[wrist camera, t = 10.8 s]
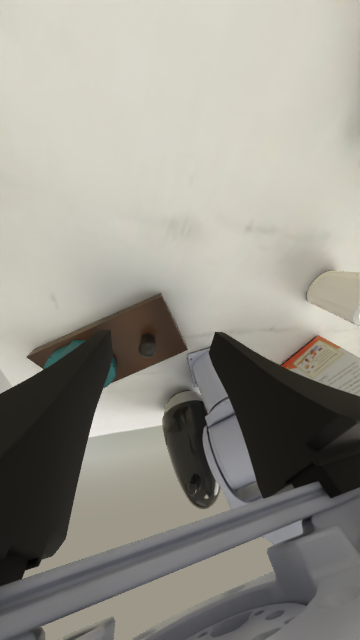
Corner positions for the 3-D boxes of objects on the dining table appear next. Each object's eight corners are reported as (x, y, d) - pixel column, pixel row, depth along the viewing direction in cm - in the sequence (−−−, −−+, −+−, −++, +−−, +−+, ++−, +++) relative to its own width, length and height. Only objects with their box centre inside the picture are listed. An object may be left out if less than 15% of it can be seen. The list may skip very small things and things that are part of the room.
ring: (117, 383, 23) (110, 419, 19) (58, 387, 21) (32, 429, 16) (114, 340, 19) (103, 372, 14) (39, 339, 17) (-2, 377, 12)
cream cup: (347, 280, 24) (413, 293, 18) (314, 312, 26) (362, 333, 20) (331, 257, 21) (404, 264, 15) (296, 295, 23) (346, 314, 17)
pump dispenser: (195, 376, 29) (235, 488, 16) (210, 399, 34) (248, 497, 21) (151, 396, 29) (154, 523, 16) (172, 416, 34) (187, 522, 21)
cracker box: (278, 382, 36) (403, 518, 18) (266, 375, 34) (400, 527, 16) (326, 344, 32) (547, 472, 14) (318, 334, 30) (574, 474, 12)
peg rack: (161, 292, 19) (167, 318, 13) (185, 344, 24) (198, 379, 18) (33, 349, 19) (-21, 401, 13) (85, 387, 24) (64, 437, 18)
